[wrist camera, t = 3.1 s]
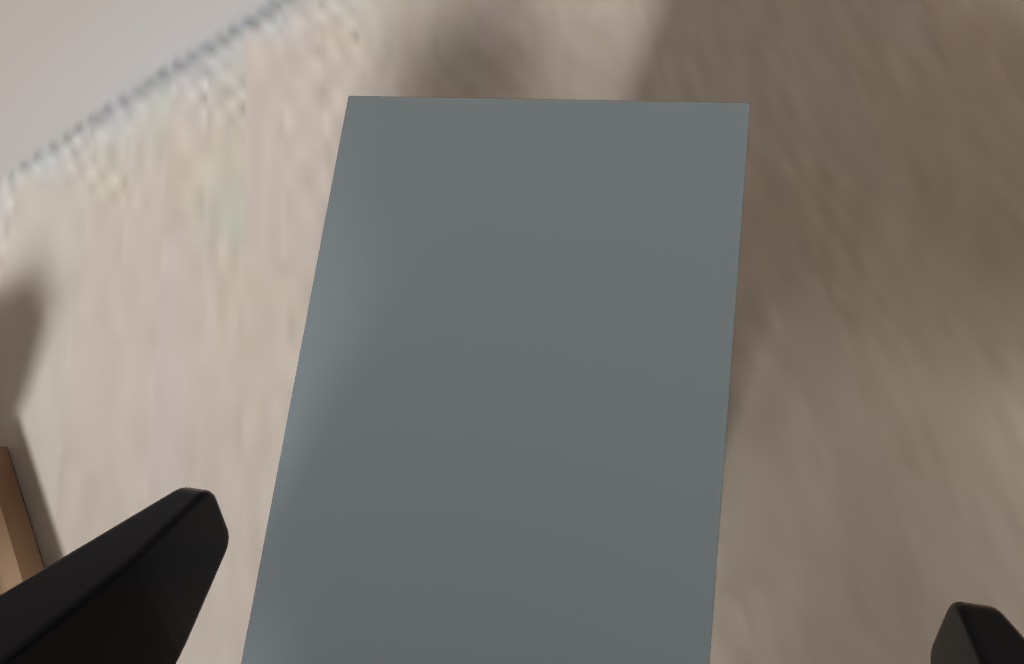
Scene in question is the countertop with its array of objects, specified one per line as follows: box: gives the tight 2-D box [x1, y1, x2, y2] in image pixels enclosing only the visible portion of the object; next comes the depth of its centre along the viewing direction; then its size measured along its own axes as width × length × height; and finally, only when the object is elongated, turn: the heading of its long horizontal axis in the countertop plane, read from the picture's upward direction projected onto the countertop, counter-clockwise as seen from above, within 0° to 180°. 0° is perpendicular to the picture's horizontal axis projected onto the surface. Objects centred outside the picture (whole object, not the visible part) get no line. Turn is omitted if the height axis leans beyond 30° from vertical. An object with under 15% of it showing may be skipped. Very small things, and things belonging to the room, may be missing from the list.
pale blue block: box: [241, 96, 750, 664], centre depth 12 cm, size 6×4×12 cm, turn 172°
